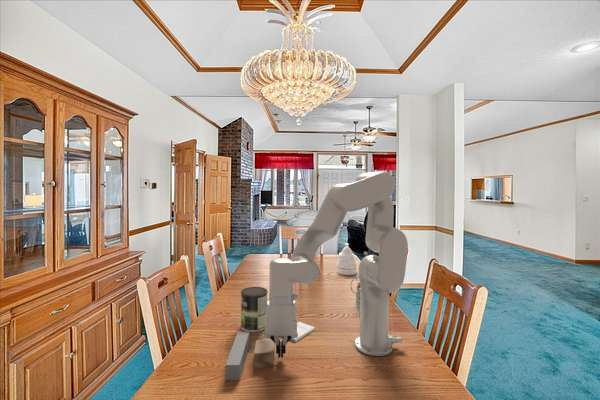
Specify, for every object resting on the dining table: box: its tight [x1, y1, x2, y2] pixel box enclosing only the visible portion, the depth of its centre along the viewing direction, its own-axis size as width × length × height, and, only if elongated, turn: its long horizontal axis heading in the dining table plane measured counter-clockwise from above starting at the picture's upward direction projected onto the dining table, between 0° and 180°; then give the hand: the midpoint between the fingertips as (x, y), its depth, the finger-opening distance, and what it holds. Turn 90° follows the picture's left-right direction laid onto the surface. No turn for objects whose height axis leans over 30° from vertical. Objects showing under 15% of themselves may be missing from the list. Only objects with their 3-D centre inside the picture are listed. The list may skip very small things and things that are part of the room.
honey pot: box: [336, 242, 358, 276], centre depth 200 cm, size 13×13×18 cm
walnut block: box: [253, 339, 276, 368], centre depth 98 cm, size 6×8×4 cm
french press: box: [350, 251, 369, 309], centre depth 144 cm, size 10×12×25 cm
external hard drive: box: [280, 321, 316, 343], centre depth 117 cm, size 2×8×12 cm
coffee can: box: [240, 286, 269, 333], centre depth 121 cm, size 10×10×14 cm
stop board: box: [224, 331, 250, 381], centre depth 98 cm, size 4×20×4 cm, turn 1°
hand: (280, 355), depth 98 cm, fingers closed
